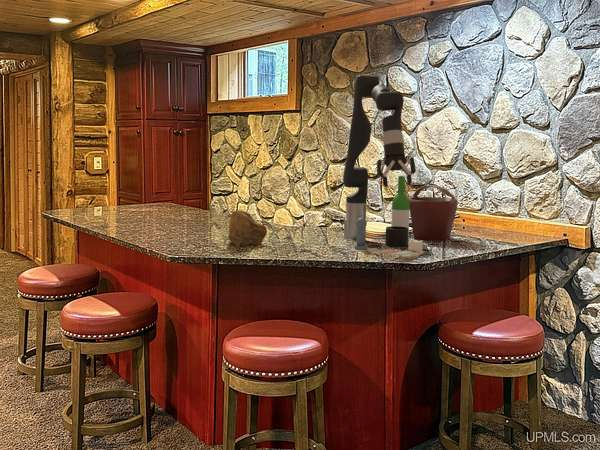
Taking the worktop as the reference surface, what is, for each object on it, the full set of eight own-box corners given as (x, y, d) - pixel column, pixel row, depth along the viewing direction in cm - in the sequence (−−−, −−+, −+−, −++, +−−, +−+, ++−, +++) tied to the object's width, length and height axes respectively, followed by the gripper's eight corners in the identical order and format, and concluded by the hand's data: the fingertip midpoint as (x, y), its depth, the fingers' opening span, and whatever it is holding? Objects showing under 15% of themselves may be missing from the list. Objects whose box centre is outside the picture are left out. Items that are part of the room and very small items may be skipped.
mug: (408, 246, 283) (408, 226, 282) (407, 251, 272) (408, 229, 271) (386, 245, 285) (386, 225, 284) (384, 250, 274) (385, 228, 272)
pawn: (352, 249, 267) (352, 218, 265) (358, 247, 271) (358, 216, 269) (363, 250, 264) (364, 219, 262) (369, 248, 268) (370, 217, 267)
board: (346, 253, 265) (346, 249, 265) (358, 249, 274) (358, 246, 274) (408, 260, 251) (408, 256, 250) (419, 256, 260) (419, 252, 260)
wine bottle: (394, 245, 286) (396, 176, 282) (388, 242, 294) (390, 175, 290) (411, 245, 288) (413, 176, 284) (404, 242, 295) (407, 175, 291)
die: (408, 253, 266) (408, 241, 265) (410, 251, 271) (410, 239, 270) (420, 254, 264) (421, 241, 264) (422, 252, 269) (422, 240, 269)
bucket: (464, 241, 299) (466, 187, 296) (421, 243, 292) (423, 187, 289) (437, 234, 322) (439, 183, 319) (396, 235, 315) (398, 183, 312)
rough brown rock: (263, 250, 274) (266, 215, 273) (224, 246, 275) (227, 211, 273) (267, 243, 297) (270, 210, 296) (231, 240, 298) (234, 207, 296)
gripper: (410, 144, 251) (414, 186, 249) (373, 147, 250) (377, 189, 249) (414, 140, 243) (418, 183, 242) (376, 143, 242) (380, 186, 241)
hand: (397, 186), depth 245 cm, fingers open, 8 cm apart
